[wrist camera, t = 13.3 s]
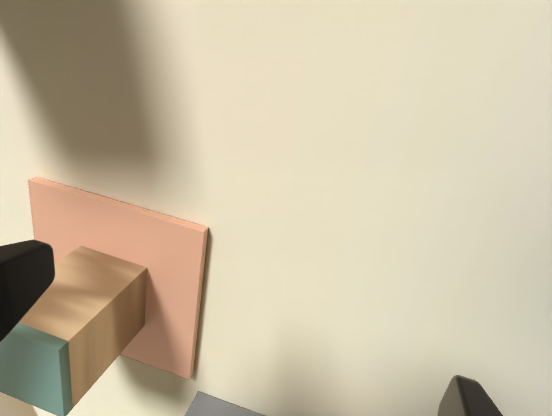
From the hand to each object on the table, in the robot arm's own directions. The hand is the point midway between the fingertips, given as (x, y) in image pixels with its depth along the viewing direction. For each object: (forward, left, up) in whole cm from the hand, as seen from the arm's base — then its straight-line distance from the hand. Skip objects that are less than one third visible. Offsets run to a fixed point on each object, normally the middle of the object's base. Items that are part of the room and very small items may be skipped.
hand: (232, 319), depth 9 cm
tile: (+11, +11, -12) cm, 19 cm away
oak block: (+11, +11, -11) cm, 19 cm away
